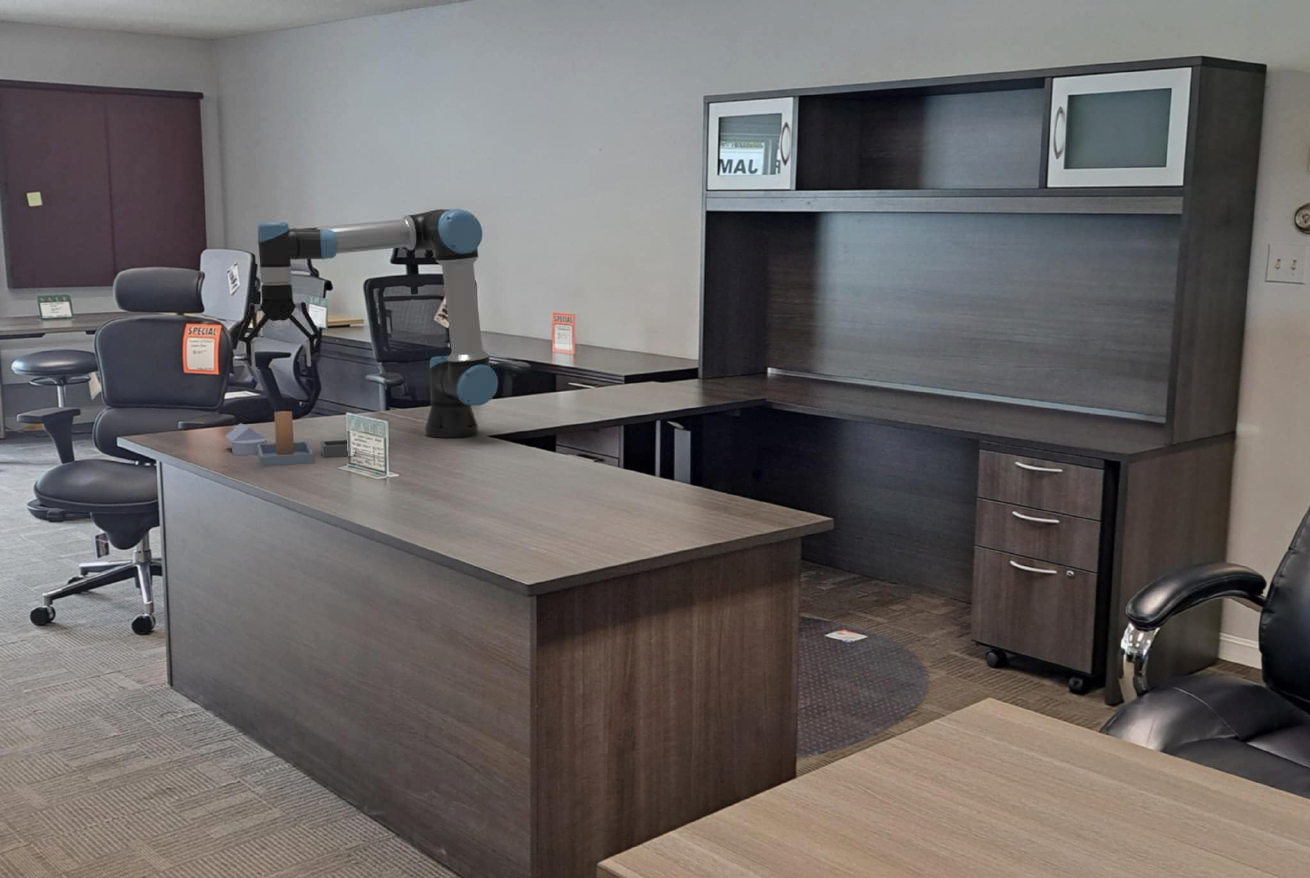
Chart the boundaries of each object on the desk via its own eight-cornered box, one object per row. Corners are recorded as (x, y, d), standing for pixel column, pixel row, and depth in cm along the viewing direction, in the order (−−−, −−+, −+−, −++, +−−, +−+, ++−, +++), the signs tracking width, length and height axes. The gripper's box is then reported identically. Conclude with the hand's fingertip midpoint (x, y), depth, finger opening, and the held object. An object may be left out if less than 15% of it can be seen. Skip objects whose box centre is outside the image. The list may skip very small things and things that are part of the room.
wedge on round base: (225, 448, 333) (237, 456, 322) (223, 424, 332) (235, 431, 321) (258, 445, 338) (271, 453, 327) (257, 421, 337) (270, 428, 326)
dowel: (293, 456, 320) (291, 410, 318) (294, 459, 316) (292, 413, 314) (276, 457, 319) (273, 411, 317) (277, 460, 315) (274, 414, 312)
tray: (308, 452, 328) (307, 441, 328) (314, 465, 311) (313, 453, 311) (257, 455, 324) (256, 444, 323) (260, 468, 307) (260, 456, 306)
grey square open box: (351, 452, 328) (351, 439, 328) (355, 458, 321) (354, 444, 320) (321, 454, 325) (320, 441, 325) (324, 460, 318) (323, 446, 317)
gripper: (325, 281, 317) (330, 363, 321) (224, 284, 309) (229, 367, 312) (328, 283, 310) (333, 366, 314) (224, 285, 302) (230, 371, 306)
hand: (281, 367), depth 313 cm, fingers open, 13 cm apart
